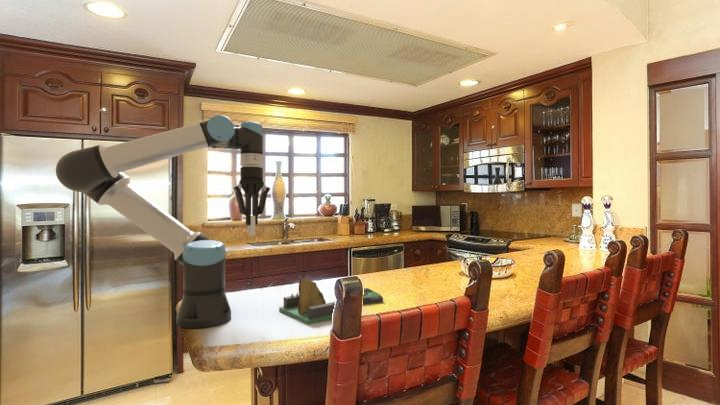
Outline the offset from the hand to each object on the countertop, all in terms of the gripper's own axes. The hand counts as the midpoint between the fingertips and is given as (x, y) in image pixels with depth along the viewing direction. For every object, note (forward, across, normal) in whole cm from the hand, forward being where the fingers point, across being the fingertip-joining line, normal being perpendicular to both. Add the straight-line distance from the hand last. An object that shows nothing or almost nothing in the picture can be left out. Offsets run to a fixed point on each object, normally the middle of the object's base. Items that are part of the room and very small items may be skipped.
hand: (251, 234), depth 128 cm
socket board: (+24, +11, -22) cm, 35 cm away
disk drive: (+25, +35, -18) cm, 47 cm away
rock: (+23, +11, -22) cm, 34 cm away
